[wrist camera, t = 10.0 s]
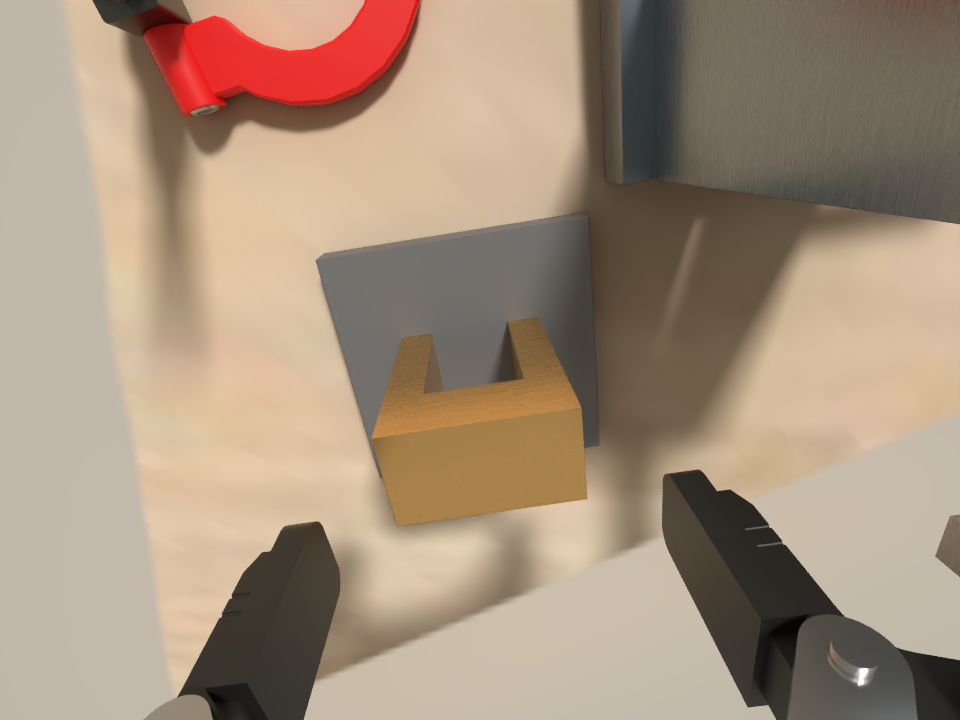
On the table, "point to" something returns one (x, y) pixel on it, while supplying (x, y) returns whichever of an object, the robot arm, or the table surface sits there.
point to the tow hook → (261, 54)
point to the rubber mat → (466, 306)
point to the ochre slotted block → (479, 434)
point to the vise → (790, 105)
